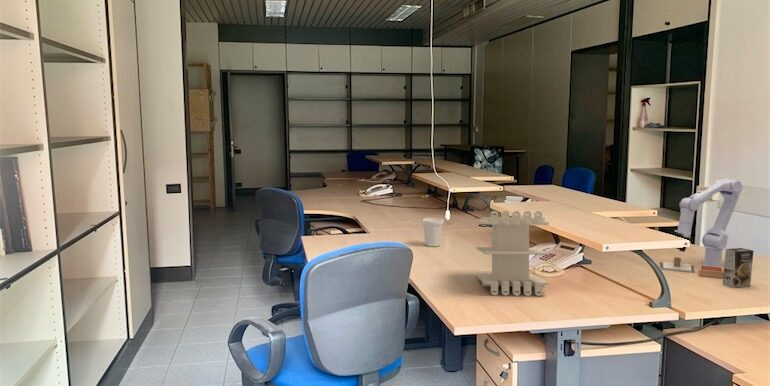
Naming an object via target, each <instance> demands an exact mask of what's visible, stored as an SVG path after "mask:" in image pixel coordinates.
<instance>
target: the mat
mask: <svg viewBox="0 0 770 386" xmlns="http://www.w3.org/2000/svg"><path fill="white" fill-rule="evenodd" d="M660 268H661V270H660V271H671V272H678V273H679V272H681V273H688V274H696V271H695V267H694V265H691V272H687V271H678V270H668V269H663V262H661V261H660V262H659V269H660Z"/></svg>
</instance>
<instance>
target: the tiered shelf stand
mask: <svg viewBox="0 0 770 386" xmlns="http://www.w3.org/2000/svg"><path fill="white" fill-rule="evenodd" d="M500 214H501V216H499V212H498V211H497V210H492V211H491V212H490V216H486V217H485V216H482V217H481V218H477V220H476V224H480V225H491V247H490V246H488V247H487V246H476V247H475V248H476V249H475V250H477V251H478V252H481V253H482V254H484V255H491V273H475V277H476V278H477V280H479V281H481V287H490V293H491V295H493V296H497V295H498V294H499V287H500V290H501V291H500V292H501V295H503V296H509V294H510V287H512V289H511V291H512V295H514V296H516V297H517V296H520V295H521V287H522V290H523V292H522V293H523V294H524V295H525V296H526V297H530V296H531V295H532V288H533V289H534V291H533V293H534V295H536V296H537V297H541V296H542V295H543V288H545V287H546V286H549V285H550V282H549V281H548V280H545V279H543V278H542V277H540V276H538V275H535V274H532V273H530V255H532V256H533V255H534V256H535V255H536V256H538V255H539V256H543V255H544V256H547V255H548V256H549V255H550V252H548V251H545V250H542V249H538V248H534V247H530V226H531V225H534V226H535V225H536V226H542V225H543V226H549V225H550V222H546V220H545V219H546V218H545V217H543V213H542V212H541V211H540V210H539V211H538V210H537V211H535V212H534V215H533V217H532V212H531V211H530V210H526V211H525V210H524V212H523V214H522V217H521V212H520V211H519V210H514V211H513V212H512V213H511V215H512V216H510V212H509V211H508V210H502V211H501V213H500Z"/></svg>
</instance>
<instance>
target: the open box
mask: <svg viewBox="0 0 770 386" xmlns="http://www.w3.org/2000/svg"><path fill="white" fill-rule="evenodd" d="M697 268H698V270H697V272H698V276H699V278H700V277H702V278H710V279H717V280H718V279H719V280H723V274H724V266H722V267H715V266H705V265H703V264H698V267H697Z"/></svg>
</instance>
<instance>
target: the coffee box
mask: <svg viewBox="0 0 770 386" xmlns="http://www.w3.org/2000/svg"><path fill="white" fill-rule="evenodd" d="M724 253H725V255H724V265H723V269H724V274H723V279H722V285H725V286H728V287H730V286H731V287H730V288H733V287H734V288H736V289H737V288H748V287H751V281H752V272H753V260H754V250H752V249H748V248H743V247H737V248H736V247H735V248H733V247H732V248H725V252H724ZM747 286H748V287H747ZM734 288H733V289H734Z"/></svg>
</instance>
